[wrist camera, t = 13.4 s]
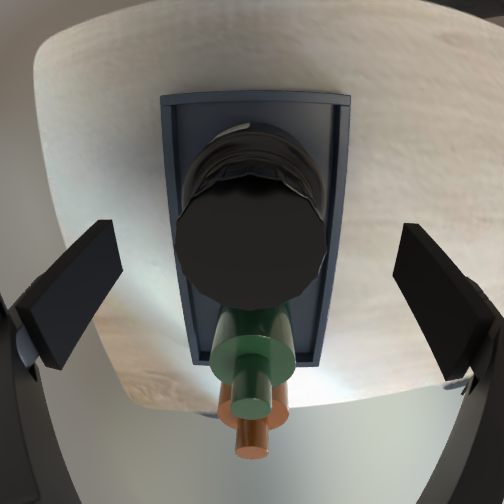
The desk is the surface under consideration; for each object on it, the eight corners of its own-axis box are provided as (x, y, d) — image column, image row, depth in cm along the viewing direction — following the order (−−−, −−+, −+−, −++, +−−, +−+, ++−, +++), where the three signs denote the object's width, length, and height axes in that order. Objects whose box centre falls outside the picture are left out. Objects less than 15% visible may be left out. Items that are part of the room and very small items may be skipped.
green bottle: (288, 251, 28) (305, 380, 15) (285, 303, 30) (295, 432, 18) (223, 250, 28) (195, 378, 15) (226, 302, 30) (207, 430, 18)
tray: (167, 95, 22) (159, 95, 20) (344, 95, 22) (351, 95, 20) (195, 352, 35) (192, 365, 33) (316, 353, 34) (318, 366, 32)
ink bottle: (218, 103, 22) (176, 112, 11) (329, 138, 23) (385, 180, 12) (187, 217, 26) (141, 305, 16) (288, 246, 27) (301, 347, 17)
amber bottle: (285, 307, 30) (294, 436, 18) (282, 348, 33) (287, 466, 21) (227, 307, 31) (208, 434, 18) (229, 347, 33) (216, 465, 21)
